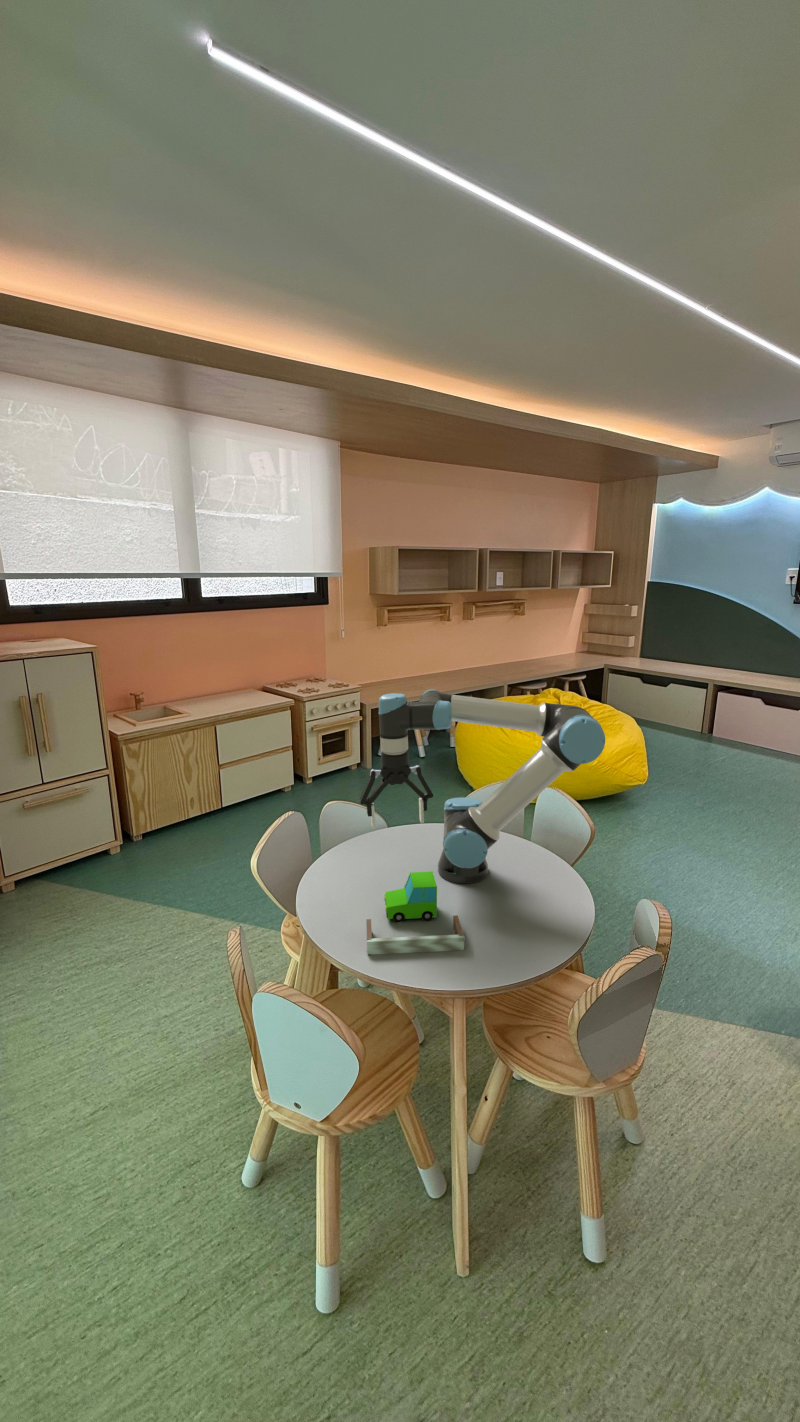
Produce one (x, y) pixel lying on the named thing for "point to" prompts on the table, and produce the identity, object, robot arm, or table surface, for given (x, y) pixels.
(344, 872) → the table surface
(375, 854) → the table surface
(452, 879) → the robot arm
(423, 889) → the toy car
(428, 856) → the table surface
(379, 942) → the bay
